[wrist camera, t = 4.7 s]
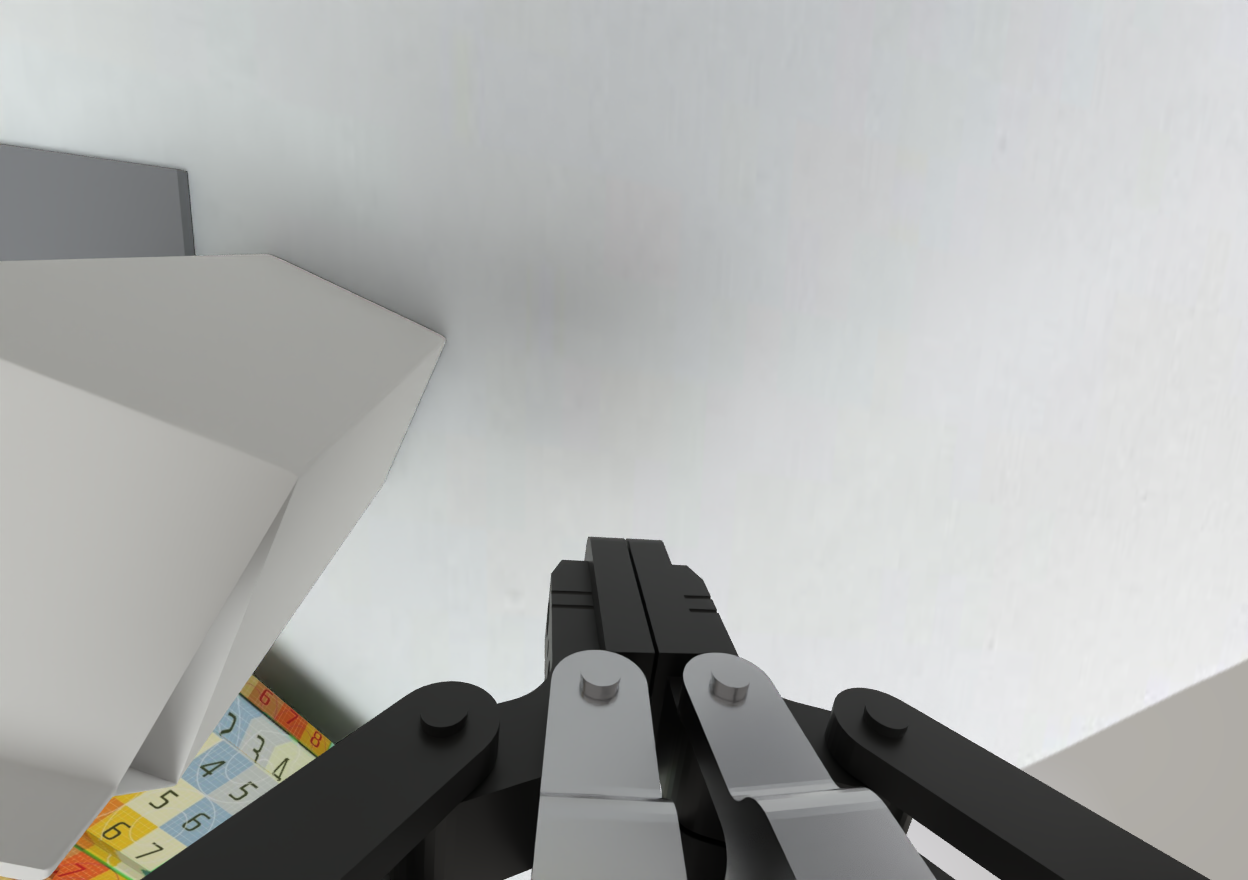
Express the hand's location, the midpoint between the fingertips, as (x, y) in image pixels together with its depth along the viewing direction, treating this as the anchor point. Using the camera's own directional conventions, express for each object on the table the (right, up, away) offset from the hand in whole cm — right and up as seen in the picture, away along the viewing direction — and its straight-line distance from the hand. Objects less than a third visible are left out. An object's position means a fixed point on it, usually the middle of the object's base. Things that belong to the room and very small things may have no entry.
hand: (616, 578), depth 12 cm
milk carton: (-12, +5, +12) cm, 18 cm away
